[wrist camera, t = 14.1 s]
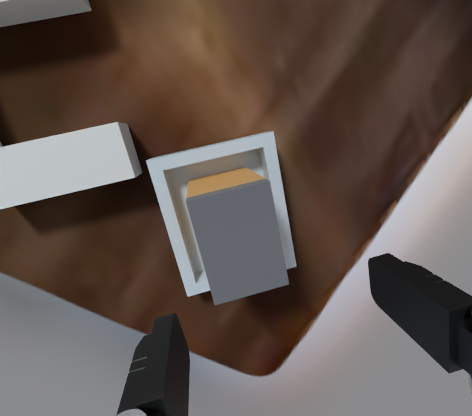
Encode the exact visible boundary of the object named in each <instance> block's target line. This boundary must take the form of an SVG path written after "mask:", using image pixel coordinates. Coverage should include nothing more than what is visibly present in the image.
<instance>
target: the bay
mask: <svg viewBox="0 0 472 416" xmlns="http://www.w3.org/2000/svg"><path fill="white" fill-rule="evenodd" d="M88 11H92V10H91V7H90V3H89V0H0V27H4V26H10V25H15V24H21V23H27V22H32V21H38V20H43V19H49V18H55V17H60V16H66V15H72V14H77V13H83V12H88ZM141 173H143V172H142V169H141V166H140V163H139V159H138V156H137V153H136V150H135V147H134V144H133V140H132V137H131V134H130V131H129V128H128V124H124V123H119V122H115V123H111V124H106V125H101V126H97V127H92V128H88V129H83V130H78V131H74V132H69V133H64V134H60V135H55V136H50V137H46V138H41V139H36V140H32V141H27V142H22V143H18V144H13V145H9V146H4V147H2V144H1V142H0V209H4V208H8V207H12V206H16V205H21V204H25V203H29V202H33V201H38V200H42V199H46V198H50V197H55V196H59V195H63V194H68V193H72V192H76V191H80V190H85V189H89V188H93V187H97V186H102V185H106V184H110V183H115V182H119V181H123V180H127V179H132V178H136V177H137V176H138V175H140V174H141Z"/></svg>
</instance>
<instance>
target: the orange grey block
mask: <svg viewBox="0 0 472 416" xmlns="http://www.w3.org/2000/svg"><path fill="white" fill-rule="evenodd" d="M186 204H187V208H188V212H189V215H190V219H191V222H192V226H193V229H194V233H195V237H196V240H197V244H198V247H199V251H200V254H201V258H202V262H203V265H204V269H205V272H206V276H207V280H208V283H209V287H210V290H211V294H212V297H213V301H214V305H218V304H222V303H225V302H229V301H232V300H236V299H239V298H243V297H246V296H250V295H253V294H257V293H260V292H264V291H267V290H271V289H274V288H278V287H281V286H285V285H288V284H289V281H288V275H287V270H286V265H285V259H284V254H283V249H282V243H281V238H280V232H279V227H278V222H277V216H276V211H275V205H274V200H273V195H272V189H271V184H270V181H269V180H267V179H266V178H264V177H262V176H260V175H259V174H257V173H255V172H253V171H251V170H250V169H248V168H246V167H243V168H239V169H234V170H230V171H226V172H222V173H218V174H214V175H209V176H205V177H201V178H197V179H193V180H189V181H188V188H187V196H186Z"/></svg>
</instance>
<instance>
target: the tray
mask: <svg viewBox="0 0 472 416" xmlns="http://www.w3.org/2000/svg"><path fill="white" fill-rule="evenodd" d="M146 163H147V166H148V169H149V172H150V176H151V179H152V182H153V185H154V189H155V192H156V195H157V199H158V202H159V205H160V208H161V212H162V215H163V218H164V221H165V225H166V228H167V231H168V234H169V238H170V241H171V244H172V247H173V251H174V254H175V257H176V260H177V264H178V267H179V270H180V273H181V277H182V280H183V283H184V287H185V290H186V293H187V296H192V295H196V294H199V293H203V292H206V291H210V287H209V283H208V280H207V276H206V272H205V269H204V265H203V262H202V258H201V254H200V251H199V247H198V244H197V240H196V237H195V233H194V229H193V226H192V222H191V219H190V215H189V212H188V208H187V204H186V196H187V188H188V181H189V180H193V179H197V178H201V177H205V176H209V175H214V174H218V173H222V172H226V171H230V170H234V169H239V168H243V167H246V168H248V169H250V170H251V171H253V172H255V173H257V174H259V175H260V176H262V177H264V178H266V179H267V180H269V181H270V184H271V189H272V195H273V200H274V205H275V211H276V216H277V222H278V227H279V232H280V238H281V243H282V249H283V254H284V259H285V265H286V269H289V268H293V267H297V266H296V261H295V255H294V249H293V243H292V237H291V231H290V226H289V220H288V214H287V208H286V202H285V196H284V191H283V185H282V179H281V173H280V167H279V161H278V156H277V150H276V144H275V138H274V132H273V131H272V132H263V133H259V134H254V135H250V136H246V137H241V138H237V139H233V140H228V141H224V142H220V143H215V144H211V145H206V146H202V147H198V148H193V149H189V150H185V151H180V152H176V153H172V154H167V155H163V156H158V157H154V158H150V159H148V160H146Z"/></svg>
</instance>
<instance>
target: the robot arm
mask: <svg viewBox="0 0 472 416" xmlns="http://www.w3.org/2000/svg"><path fill="white" fill-rule="evenodd" d="M368 266H369V278H370V288H371V294H372V297H373V299H374V301H375V302H376V304H377V305H378V306H379V307H380V308H381V309H382V310H383V311H384V312H385V313H386V314H387V315H388V316H389V317H390V318H391V319H392V320H393V321H394V322H395V323H397V324H398V325H399V326H400V327H401V328H402V329H403V330H404V331H405V332H406V333H407V334H408V335H409V336H410V337H411V338H412V339H413V340H414V341H416V343H418V344H419V345H420V346H421V347H422V348H423V349H424V350H425V351H426V352H427V353H428V354H429V355H430V356H431V357H432V358H433V359H434V360H436V362H437V363H439V364H440V365H441V366H442V367H443V368H444V369H445V370H446V371H447V372H448V373H452V372H455V371H458V370H461V369H464V370H465V371H467V372H468V373H469V384H470V388H471V393H472V296H471V295H469V294H467V293H465V292H464V291H462V290H460V289H459V288H457V287H455V286H454V285H452V284H450V283H449V282H447V281H443V279H442V278H440V277H438V276H437V275H433V273H432V272H430V271H428V270H427V269H425V268H423V267H422V266H419V265H416V264H412V263H409V262H403V261H401V260H399V259H398V258H396V257H394V256H393V255H391V254H389V253H387V254H383V255H380V256H376V257H373V258H370V259H369V261H368ZM189 370H190V358H189V350H188V346H187V342H186V339H185V337H184V334H183V331H182V328H181V325H180V322H179V319H178V317H177V315H176V313H173V314H170V315H166V316H163V317H159V318H156V319H155V323H154V327H153V332H152V334H149V335H146V336H144V337H143V338H142V340H141V341H140V343H139V344H138V345H137V347H136V349H135V352H134V356H133V360H132V363H131V367H130V370H129V372H130V373H129V374H128V377H127V381H126V384H125V388H124V391H123V395H122V398H121V401H120V405H119V408H118V412H117V415H116V416H188V403H189V401H188V400H189Z"/></svg>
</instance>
